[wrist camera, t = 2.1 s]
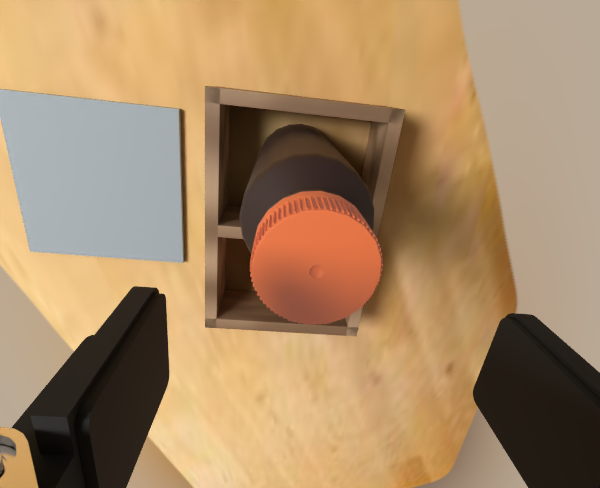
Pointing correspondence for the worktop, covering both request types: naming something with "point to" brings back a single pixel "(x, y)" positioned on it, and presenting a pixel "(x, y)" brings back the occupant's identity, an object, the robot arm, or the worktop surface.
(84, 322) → the worktop surface
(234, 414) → the worktop surface
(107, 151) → the mat
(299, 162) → the vinegar
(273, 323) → the rack
